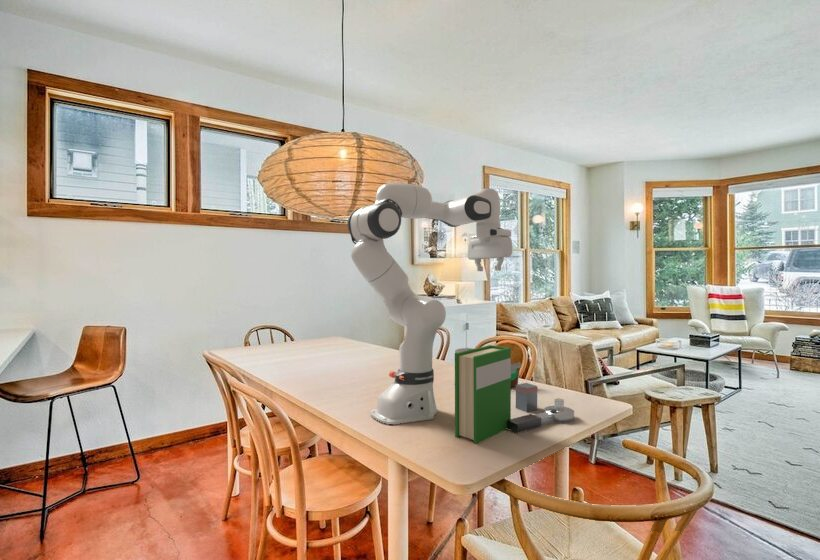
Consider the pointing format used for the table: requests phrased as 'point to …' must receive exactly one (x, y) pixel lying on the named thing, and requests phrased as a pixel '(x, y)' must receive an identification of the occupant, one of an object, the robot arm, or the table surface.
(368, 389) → the table surface
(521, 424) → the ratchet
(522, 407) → the dark grey block
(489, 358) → the hardback book
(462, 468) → the table surface
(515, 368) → the food container
